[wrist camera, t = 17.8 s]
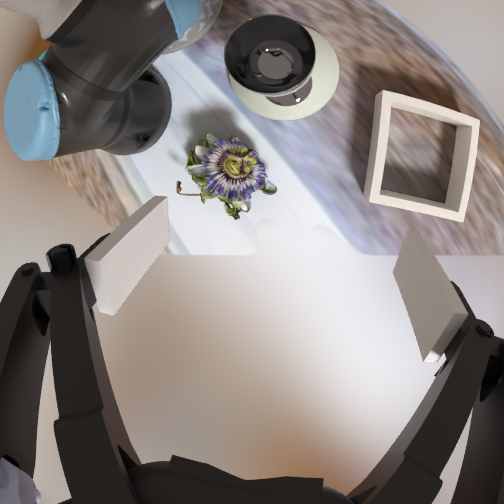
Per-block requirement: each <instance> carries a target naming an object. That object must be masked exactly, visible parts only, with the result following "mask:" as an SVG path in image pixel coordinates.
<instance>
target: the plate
mask: <svg viewBox="0 0 504 504" xmlns="http://www.w3.org/2000/svg"><path fill="white" fill-rule="evenodd" d="M303 26H304V25H303ZM304 27H305V29H306V30H307V31H308V32H309V34H310V35H311V37H312V39H313V41H314V44H315V49H316V62H315V67H314V71H313V73H312V75H311V76H312V81H313V83H312V89H311V92H310V94H309V95H308V97H307V98H306V99H305V100H304V101H302V102H301V103H299V104H297V105H293V106H279V105H276V104H274V103H272V102H270V101H269V100H268V99H267V98H266V97H265V96H263V95H259V94H256V93H254V92H251V91H249V90H248V89H246V88H244V87H243V86H241V85H240V84H239V83H238V82H236V81H235V80H234V79H233V77H232V76H231V75H230V73H229V79H230V83H231V86H232V88H233V91H234V93H235V94H236V96H237V97H238V99H239V100H240V101H241V102H242V103H243V104H244V105H245V106H246V107H247V108H249V109H250V110H251V111H253V112H255V113H257V114H259V115H261V116H263V117H266V118H270V119H274V120H281V121H289V120H297V119H301V118H304V117H307V116H310V115H312V114H314V113H315V112H317V111H318V110H320V109H321V108H322V107H323V106H325V105H326V103H327V102H328V101H329V100H330V98H331V97H332V95H333V94H334V91H335V89H336V87H337V83H338V79H339V65H338V60H337V57H336V54H335V52H334V50H333V48H332V47H331V45H330V44H329V43H328V42H327V40H326V39H325V38H324V37H322V36H321V35H320V34H319V33H317V32H316V31H314V30H313V29H311V28H309V27H306V26H304Z"/></svg>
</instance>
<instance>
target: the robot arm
mask: <svg viewBox="0 0 504 504" xmlns="http://www.w3.org/2000/svg"><path fill="white" fill-rule="evenodd" d="M0 7H1V8H5V9H7V10H11V11H14V12H17V13H20V14H23V15H25V16H28V17H31V18H34V19H36V20H37V21H38V23H39V28H40V33H41V38H43V39H44V40H47V41H50V42H52V44H51V46H50V47H49V49H48V50H47V52H46V53H45V55H44V56H43V58H42V59H41V60H38V59H32V60H30V61H27V62H25V63H24V64H22V65H20V66H19V67H18V68H17V69H16V71H15V72H14V74H13V75H12V77H11V79H10V82H9V85H8V87H7V91H6V95H5V100H4V111H3V112H4V113H3V115H4V128H5V133H6V137H7V140H8V143H9V145H10V147H11V149H12V150H13V152H14V153H15V154H16V155H17V156H18V157H19V158H21V159H23V160H26V161H35V160H42V159H43V160H50V159H52V158H55V157H59V156H63V155H68V154H73V153H77V152H82V151H87V150H93V149H98V148H99V149H101V150H104V151H107V152H110V153H113V154H116V155H131V154H136V153H140V152H143V151H145V150H147V149H148V148H150V147H151V146H152V145H154V144H155V143H156V142H157V141H158V140H159V138H160V137H161V136H162V134H163V132H164V131H165V129H166V127H167V125H168V122H169V119H170V115H171V107H172V100H171V93H170V90H169V87H168V85H167V83H166V81H165V79H164V78H163V77H162V76H161V75H160V74H159V73H158V72H156V71H155V70H153V69H150V68H148V67H149V66H150V65H151V64H152V63H153V62H154V61H155V60H156V59H157V58H158V57H159V56H160V55H161V54H162V53H163V52H164V51H165V50H166V49H167V48H168V47H170V46H171V45H172V44H173V43H174V42H175V41H176V40H177V41H178V40H180V39H181V37H182V34H183V33H184V32H186V31H187V30H188V29H189V28H190V27H191V26H192V25H193V24H194V23H195V22H196V21H197V20H198V19H199V18H200V17H201V15H202V11H203V6H202V3H201V0H0ZM169 241H170V231H169V217H168V199H167V197H165V196H154V197H153V198H152V199H150V200H149V201H148V202H147V203H146V204H144V205H143V206H142V207H141V208H140V209H138V210H137V211H136V212H135V213H134V214H132V215H131V216H130V217H129V218H128V219H127V220H126V221H124V222H123V223H122V224H121V225H120V226H119V227H118V228H116V229H115V230H114V231H113V232H112V233H108V234H106V235H105V236H102V237H101V238H99V239H98V240H97V241H96V242H95V243H94V244H93V245H91V246H90V248H89V249H87V250H86V251H85V252H84V253H83V254H82V255H81V256H80V257H79V258H77V257H76V253H75V249H74V247H73V245H71V244H60V245H58V246H55V247H53V248H51V249H50V250H49V251H48V252H47V254H46V259H47V262H48V265H49V268H50V271H51V272H41V270H40V267H39V265H38V264H37V263H33V262H31V263H26V264H24V265H22V266H21V267H20V268H19V269H18V270H17V271H16V272H15V274H14V276H13V278H12V280H11V282H10V284H9V286H8V288H7V290H6V292H5V294H4V296H3V298H2V300H1V303H0V504H37V503H38V502H40V499H41V495H40V492H39V491H38V490H37V489H36V486H35V484H34V481H33V480H32V479H33V474H34V468H35V459H36V440H37V424H38V414H39V405H40V395H41V389H42V381H43V376H44V370H45V364H46V359H47V354H48V349H49V344H50V340H51V355H52V366H53V376H54V385H55V392H56V400H57V406H58V412H59V419H58V420H55V421H54V432H55V437H56V443H57V447H58V451H59V455H60V460H61V463H62V467H63V471H64V475H65V478H66V481H67V484H68V487H69V491H70V494H71V497H72V498H70V499H68V500H66V501H63V502H61V503H58V504H432V502H433V500H434V499H435V497H436V496H437V494H438V492H439V491H440V489H441V487H442V482H443V481H442V480H441V479H440V475H441V472H442V471H443V469H444V467H445V465H446V464H447V462H448V460H449V458H450V456H451V454H452V452H453V450H454V448H455V446H456V444H457V442H458V440H459V438H460V436H461V434H462V431H463V429H464V427H465V425H466V422H467V420H468V417H469V415H470V413H471V410H472V408H473V412H472V418H471V425H470V430H469V436H468V441H467V446H466V450H465V455H464V459H463V463H462V467H461V471H460V475H459V479H458V482H457V485H456V489H455V492H454V495H453V498H452V501H451V503H450V504H504V339H502V338H499V337H496V336H494V332H493V330H492V328H491V327H490V326H489V325H488V324H487V323H486V322H484V321H482V320H479V319H476V317H475V315H474V313H473V311H472V310H471V308H470V306H469V304H468V302H466V299H465V297H464V296H463V293H462V292H461V290H460V288H459V287H458V286H457V285H456V284H455V283H454V282H452V281H450V280H449V279H448V277H447V275H446V274H445V272H444V270H443V269H442V267H441V265H440V264H439V262H438V261H437V259H436V257H435V256H434V254H433V253H432V251H431V249H430V248H429V246H428V245H427V243H426V242H425V240H424V239H423V237H422V236H421V235H420V233H419V232H415V231H409V230H407V232H406V236H405V239H404V242H403V245H402V248H401V251H400V253H399V256H398V259H397V262H396V265H395V267H394V271H393V274H394V277H395V279H396V282H397V284H398V287H399V290H400V292H401V295H402V298H403V300H404V303H405V306H406V309H407V311H408V315H409V318H410V321H411V323H412V326H413V330H414V333H415V336H416V339H417V342H418V345H419V348H420V352H421V356H422V359H423V362H437V361H438V360H439V359H440V357H441V356H442V354H443V353H445V356H446V361H445V362H444V363H443V365H442V366H441V367H440V369H439V370H438V371H437V373H436V374H435V375H434V376H436V378H435V380H434V381H433V383H432V385H431V387H430V389H429V390H428V392H427V394H426V395H425V397H424V399H423V400H422V402H421V404H420V405H419V407H418V408H417V410H416V412H415V413H414V415H413V416H412V418H411V419H410V421H409V422H408V424H407V425H406V427H405V428H404V430H403V431H402V432H401V434H400V435H399V437H398V438H397V439H396V441H395V442H394V444H393V445H392V446H391V448H390V449H389V450H388V452H387V453H386V454H385V455H384V457H383V458H382V459H381V460H380V462H379V463H378V464H377V465H376V467H375V468H374V469H373V470H372V471H371V472H370V474H369V475H368V476H367V477H366V478H365V479H364V480H363V481H362V482H361V484H359V485H358V486H357V487H356V488H354V489H353V490H352V491H351V492H350V493H349V494H348V495H347V496H345V495H344V494H342V493H340V492H338V491H336V490H335V489H332V488H329V487H327V486H323V478H302V477H288V476H285V477H277V478H268V479H258V480H244V479H241V478H239V477H236V476H234V475H231V474H229V473H227V472H225V471H222V470H220V469H218V468H216V467H214V466H211V465H209V464H206V463H202V462H198V461H194V460H190V459H186V458H182V457H178V456H175V455H172V457H171V460H170V461H159V462H158V461H157V462H151V463H146V464H141V462H140V460H139V458H138V456H137V454H136V452H135V450H134V448H133V447H132V445H131V442H130V440H129V437H128V434H127V432H126V429H125V426H124V424H123V421H122V418H121V415H120V412H119V409H118V406H117V403H116V400H115V397H114V394H113V390H112V387H111V383H110V380H109V376H108V373H107V369H106V365H105V361H104V357H103V353H102V349H101V345H100V340H99V336H98V331H97V326H96V321H95V317H94V312H93V309H92V306H93V305H94V304H95V303H96V302H97V304H98V308H99V311H100V312H103V313H106V314H109V315H113V316H114V315H115V313H116V312H117V311H118V309H119V308H120V306H121V305H122V304H123V302H124V300H125V299H126V298H127V297H128V295H129V294H130V293H131V291H132V290H133V288H134V287H135V286H136V284H137V283H138V282H139V280H140V279H141V278H142V276H143V275H144V274H145V272H146V271H147V270H148V268H149V267H150V266H151V264H152V263H153V262H154V261H155V259H156V258H157V257H158V255H159V254H160V253H161V252H162V250H163V249H164V248H165V246H166V245H167V244H168V243H169Z"/></svg>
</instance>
